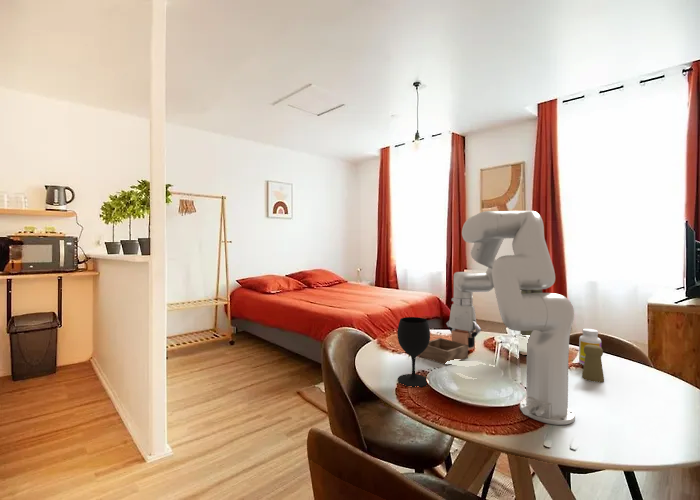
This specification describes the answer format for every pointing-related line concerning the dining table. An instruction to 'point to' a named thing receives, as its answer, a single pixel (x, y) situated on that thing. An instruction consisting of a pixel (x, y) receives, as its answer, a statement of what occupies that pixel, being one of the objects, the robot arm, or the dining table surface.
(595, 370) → the cork
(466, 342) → the terracotta crate
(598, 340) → the supplement bottle
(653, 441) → the dining table surface
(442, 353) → the walnut crate
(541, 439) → the dining table surface
